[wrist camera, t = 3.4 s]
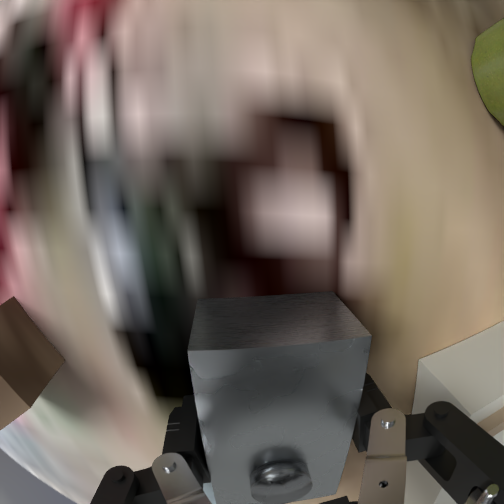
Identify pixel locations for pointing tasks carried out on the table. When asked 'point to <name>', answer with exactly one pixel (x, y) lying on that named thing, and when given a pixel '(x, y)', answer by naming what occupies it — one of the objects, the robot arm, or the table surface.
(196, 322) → the block
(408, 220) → the table surface
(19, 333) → the walnut block
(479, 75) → the plant pot
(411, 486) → the stand
